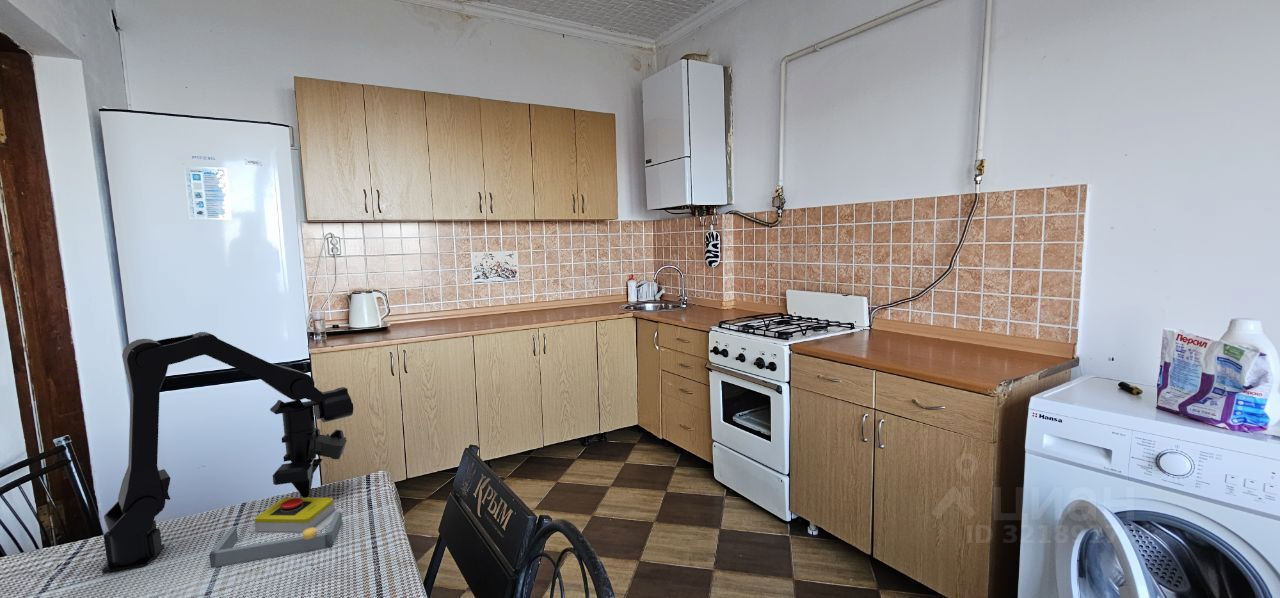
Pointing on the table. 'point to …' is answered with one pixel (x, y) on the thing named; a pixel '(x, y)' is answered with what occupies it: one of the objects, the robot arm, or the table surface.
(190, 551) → the table surface
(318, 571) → the table surface
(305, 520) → the emergency button
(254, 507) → the table surface
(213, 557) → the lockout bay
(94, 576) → the table surface
